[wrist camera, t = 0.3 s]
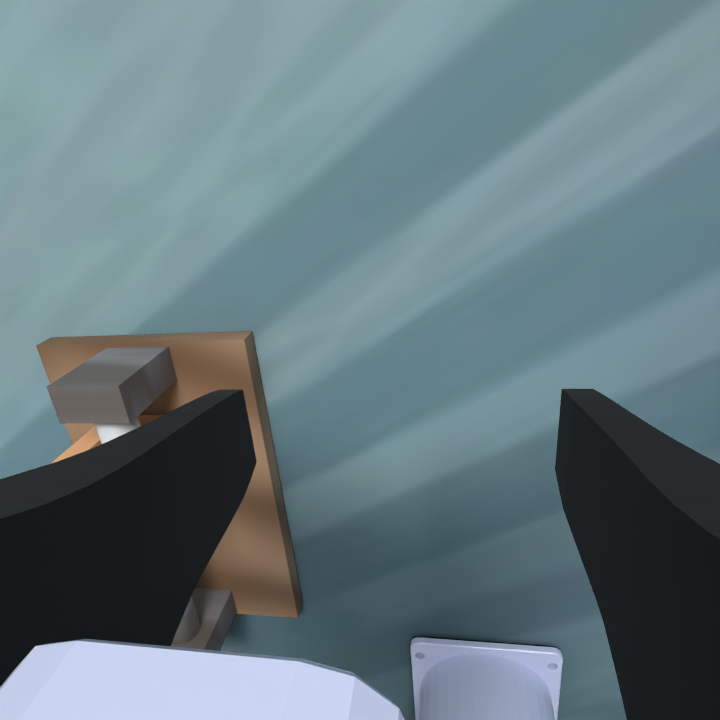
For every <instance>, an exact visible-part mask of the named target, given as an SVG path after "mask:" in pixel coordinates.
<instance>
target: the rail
mask: <svg viewBox="0 0 720 720" xmlns="http://www.w3.org/2000/svg"><path fill="white" fill-rule="evenodd" d="M36 347H37V349H38V352H39V355H40V358H41V360H42V363H43V366H44V368H45V371H46V374H47V376H48V379H49V382H50V385H49V386H47V389H48V392H49V395H50V397H51V400H52V403H53V405H54V408H55V411H56V413H57V416H58V419H59V421H60V423H65V425H66V428H67V431H68V433H69V436H70V439H71V442H72V444H74V443H75V442H77V441H78V440H79V439H80V438H81V437H83V436H84V435H85V434H86V433H87V432H88V431H90V430H91V429H92V428H93V427H94V426H96V429H97V432H98V435H99V438H100V441H101V444H103V443H106V442H108V441H110V440H112V439H114V438H117V437H119V436H121V435H123V434H125V433H127V432H129V431H132V430H134V429H136V428H138V427H140V426H141V425H140V422H139V418H138V416H139V415H164V414H166V413H168V412H170V411H172V410H174V409H176V408H178V407H180V406H182V405H184V404H186V403H188V402H190V401H193V400H195V399H197V398H199V397H201V396H203V395H206V394H208V393H210V392H213V391H216V390H243V392H244V397H245V402H246V408H247V413H248V418H249V424H250V429H251V434H252V439H253V445H254V450H255V455H256V461H257V463H256V466H255V469H254V472H253V475H252V477H251V480H250V483H249V486H248V488H247V491H246V493H245V496H244V498H243V500H242V502H241V504H240V506H239V508H238V510H237V512H236V513H235V515H234V517H233V519H232V521H231V523H230V525H229V526H228V528H227V530H226V532H225V534H224V535H223V537H222V539H221V541H220V543H219V544H218V546H217V548H216V550H215V552H214V554H213V555H212V557H211V559H210V561H209V563H208V564H207V566H206V568H205V570H204V572H203V573H202V575H201V577H200V579H199V581H198V583H197V585H196V587H195V589H194V591H193V593H192V596H191V598H190V601H189V603H188V605H187V608H186V610H185V612H184V615H183V617H182V620H181V622H180V624H179V627H178V629H177V632H176V634H175V637H174V639H173V642H172V644H171V647H182V648H193V649H204V650H214V651H220V649H221V647H222V645H223V642H224V640H225V638H226V635H227V633H228V631H229V628H230V626H231V624H232V622H233V619H234V617H235V615H236V614H248V615H262V616H277V617H291V618H298V616H299V613H300V610H301V606H302V597H301V592H300V586H299V581H298V576H297V570H296V565H295V559H294V554H293V549H292V543H291V538H290V532H289V527H288V522H287V516H286V511H285V505H284V500H283V495H282V489H281V484H280V478H279V473H278V468H277V462H276V457H275V451H274V446H273V441H272V435H271V430H270V425H269V419H268V414H267V408H266V403H265V398H264V392H263V387H262V381H261V376H260V371H259V365H258V360H257V354H256V349H255V344H254V338H253V333H252V331H243V332H211V333H180V334H149V335H117V336H86V337H55V338H50V339H48V340H46V341H44V342H42V343H40V344H38V345H37V346H36Z"/></svg>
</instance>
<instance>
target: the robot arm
mask: <svg viewBox="0 0 720 720" xmlns="http://www.w3.org/2000/svg"><path fill="white" fill-rule="evenodd" d="M256 463H257V461H256V455H255V450H254V445H253V439H252V434H251V429H250V424H249V418H248V413H247V408H246V402H245V397H244V392H243V390H216V391H213V392H210V393H208V394H206V395H203V396H201V397H199V398H197V399H195V400H193V401H190V402H188V403H186V404H184V405H182V406H180V407H178V408H176V409H174V410H172V411H170V412H168V413H166V414H164V415H162V416H161V417H159V418H157V419H155V420H153V421H151V422H149V423H147V424H144V425H142V426H140V427H138V428H136V429H134V430H132V431H129V432H127V433H125V434H123V435H121V436H119V437H117V438H114V439H112V440H110V441H108V442H106V443H103V444H101V445H99V446H96V447H94V448H91V449H89V450H87V451H84V452H81V453H79V454H76V455H73V456H71V457H68V458H65V459H63V460H60V461H57V462H54V463H52V464H49V465H45V466H42V467H39V468H36V469H32V470H29V471H26V472H23V473H20V474H16V475H13V476H10V477H7V478H3V479H0V720H404V718H403V716H402V713H401V711H400V709H399V708H398V707H397V706H396V705H395V704H394V703H393V702H392V701H391V700H390V699H389V698H387V697H386V696H385V695H383V694H382V693H380V692H379V691H378V690H376V689H375V688H374V687H372V686H371V685H369V684H368V683H367V682H365V681H364V680H362V679H361V678H360V677H358V676H357V675H356V674H354V673H353V672H350V671H346V670H342V669H339V668H335V667H331V666H328V665H324V664H320V663H317V662H313V661H309V660H306V659H302V658H291V657H280V656H269V655H258V654H247V653H236V652H225V651H214V650H204V649H193V648H182V647H171V644H172V642H173V639H174V637H175V634H176V632H177V629H178V627H179V624H180V622H181V620H182V617H183V615H184V612H185V610H186V608H187V605H188V603H189V601H190V598H191V596H192V593H193V591H194V589H195V587H196V585H197V583H198V581H199V579H200V577H201V575H202V573H203V572H204V570H205V568H206V566H207V564H208V563H209V561H210V559H211V557H212V555H213V554H214V552H215V550H216V548H217V546H218V544H219V543H220V541H221V539H222V537H223V535H224V534H225V532H226V530H227V528H228V526H229V525H230V523H231V521H232V519H233V517H234V515H235V513H236V512H237V510H238V508H239V506H240V504H241V502H242V500H243V498H244V496H245V493H246V491H247V488H248V486H249V483H250V480H251V477H252V475H253V472H254V469H255V466H256ZM555 471H556V476H557V481H558V486H559V491H560V495H561V500H562V505H563V509H564V512H565V515H566V518H567V520H568V523H569V526H570V529H571V532H572V534H573V537H574V540H575V543H576V545H577V548H578V551H579V554H580V556H581V559H582V562H583V564H584V567H585V570H586V573H587V575H588V578H589V581H590V584H591V586H592V589H593V592H594V595H595V597H596V600H597V603H598V606H599V609H600V612H601V616H602V619H603V622H604V626H605V630H606V634H607V638H608V642H609V646H610V650H611V654H612V658H613V662H614V666H615V670H616V674H617V678H618V683H619V687H620V691H621V696H622V700H623V704H624V709H625V713H626V717H627V720H720V464H719V463H717V462H715V461H713V460H711V459H709V458H707V457H705V456H703V455H701V454H700V453H698V452H696V451H694V450H692V449H690V448H689V447H687V446H685V445H683V444H681V443H680V442H678V441H676V440H674V439H673V438H671V437H669V436H668V435H666V434H664V433H662V432H661V431H659V430H658V429H656V428H654V427H653V426H651V425H649V424H648V423H646V422H645V421H643V420H642V419H640V418H638V417H637V416H635V415H634V414H632V413H631V412H629V411H628V410H626V409H625V408H623V407H621V406H620V405H618V404H617V403H615V402H614V401H612V400H611V399H609V398H608V397H606V396H604V395H603V394H601V393H599V392H598V391H596V390H594V389H562V394H561V406H560V418H559V430H558V441H557V453H556V465H555ZM410 649H411V663H412V676H413V690H414V704H415V717H416V720H557V715H558V705H559V695H560V685H561V675H562V665H563V658H562V653H561V651H560V650H559V649H557V648H554V647H543V646H530V645H516V644H503V643H489V642H476V641H462V640H449V639H435V638H421V637H417V638H414V639H412V641H411V647H410Z"/></svg>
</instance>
